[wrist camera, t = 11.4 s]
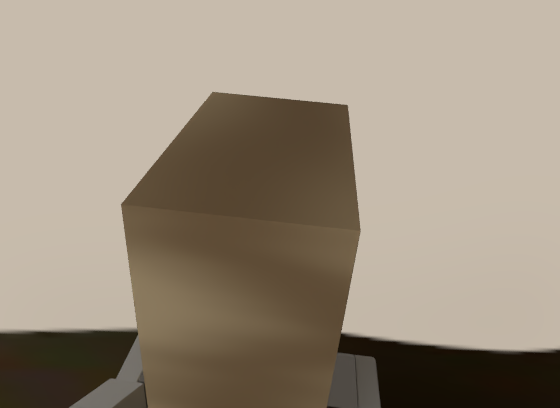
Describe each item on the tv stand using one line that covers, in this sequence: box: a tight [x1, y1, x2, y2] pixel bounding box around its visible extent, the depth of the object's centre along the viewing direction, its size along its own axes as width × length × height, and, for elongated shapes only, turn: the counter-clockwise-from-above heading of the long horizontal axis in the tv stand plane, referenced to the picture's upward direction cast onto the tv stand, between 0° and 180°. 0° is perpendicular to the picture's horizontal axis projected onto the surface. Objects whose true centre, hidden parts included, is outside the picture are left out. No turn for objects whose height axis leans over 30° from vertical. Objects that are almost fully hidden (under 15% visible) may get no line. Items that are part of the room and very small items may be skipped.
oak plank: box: [121, 92, 360, 408], centre depth 11 cm, size 3×5×14 cm, turn 174°
